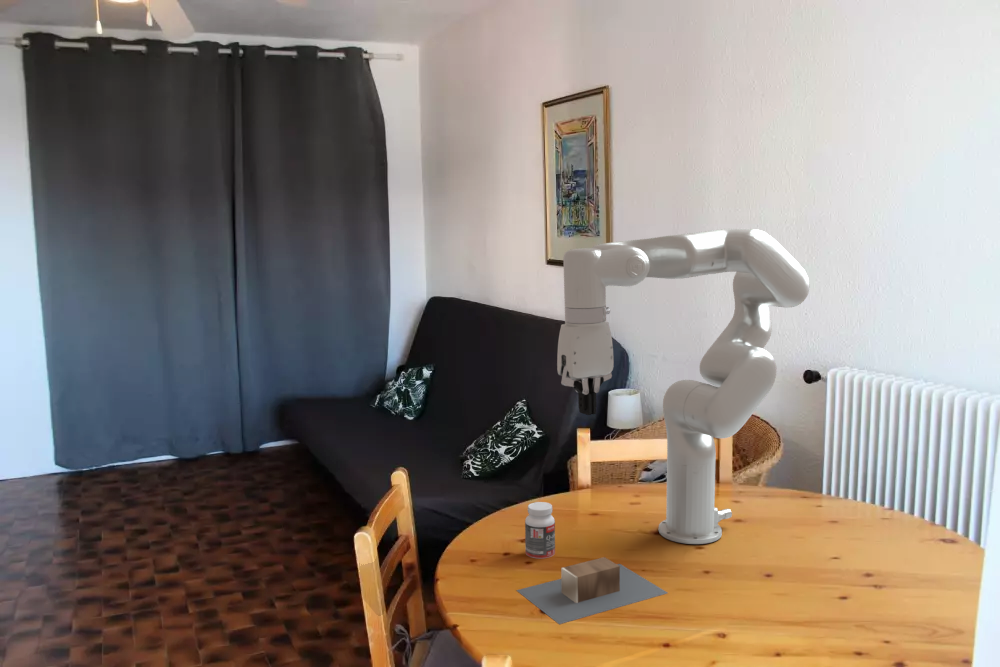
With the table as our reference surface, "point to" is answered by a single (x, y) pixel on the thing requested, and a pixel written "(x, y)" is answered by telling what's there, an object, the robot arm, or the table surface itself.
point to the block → (590, 579)
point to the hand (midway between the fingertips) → (587, 413)
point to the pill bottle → (540, 531)
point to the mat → (567, 610)
